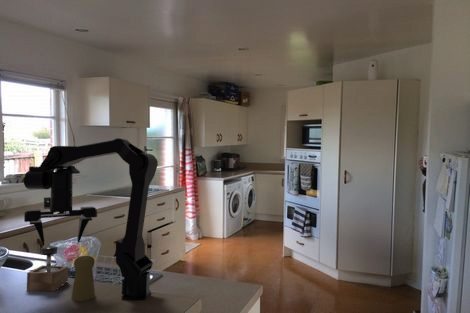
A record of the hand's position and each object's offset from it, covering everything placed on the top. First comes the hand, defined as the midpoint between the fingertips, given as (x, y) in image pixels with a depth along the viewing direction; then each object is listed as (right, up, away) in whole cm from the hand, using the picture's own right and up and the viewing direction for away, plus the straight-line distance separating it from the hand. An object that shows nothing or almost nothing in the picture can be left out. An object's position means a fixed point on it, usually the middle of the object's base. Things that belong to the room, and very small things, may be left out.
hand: (61, 243), depth 107 cm
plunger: (-5, -10, +2) cm, 11 cm away
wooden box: (-5, -13, +2) cm, 14 cm away
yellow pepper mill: (+9, -13, -6) cm, 17 cm away
